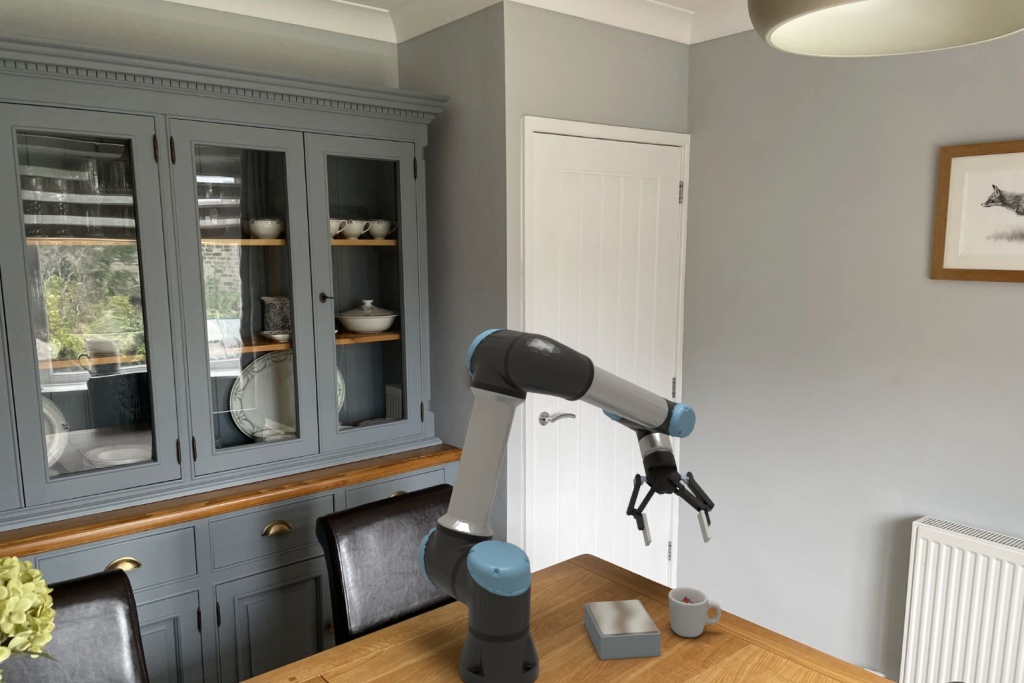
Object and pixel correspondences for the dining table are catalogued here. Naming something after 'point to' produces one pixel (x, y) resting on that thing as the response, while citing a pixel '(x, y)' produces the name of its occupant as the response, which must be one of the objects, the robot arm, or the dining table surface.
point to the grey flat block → (621, 629)
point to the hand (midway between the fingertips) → (678, 542)
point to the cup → (690, 611)
